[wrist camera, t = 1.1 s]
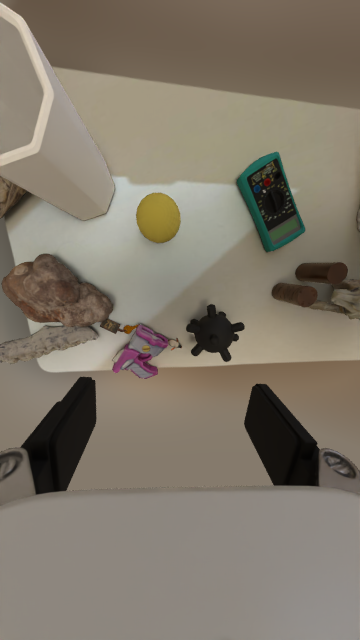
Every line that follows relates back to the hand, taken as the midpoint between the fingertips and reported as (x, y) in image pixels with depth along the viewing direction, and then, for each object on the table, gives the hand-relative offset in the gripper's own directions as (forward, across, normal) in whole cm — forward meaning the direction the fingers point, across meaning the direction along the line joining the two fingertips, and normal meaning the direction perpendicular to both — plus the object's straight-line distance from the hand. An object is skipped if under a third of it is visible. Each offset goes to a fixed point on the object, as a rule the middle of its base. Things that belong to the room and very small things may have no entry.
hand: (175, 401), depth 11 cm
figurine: (+29, -36, -5) cm, 47 cm away
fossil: (+30, +24, +10) cm, 40 cm away
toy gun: (+28, 0, +14) cm, 31 cm away
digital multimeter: (+29, -17, -20) cm, 39 cm away
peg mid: (+29, -24, -5) cm, 38 cm away
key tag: (+28, +10, +5) cm, 30 cm away
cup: (+29, +16, -20) cm, 39 cm away
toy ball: (+29, -9, +3) cm, 31 cm away
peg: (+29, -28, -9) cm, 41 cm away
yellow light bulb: (+29, +3, -14) cm, 33 cm away
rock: (+30, +20, 0) cm, 36 cm away
